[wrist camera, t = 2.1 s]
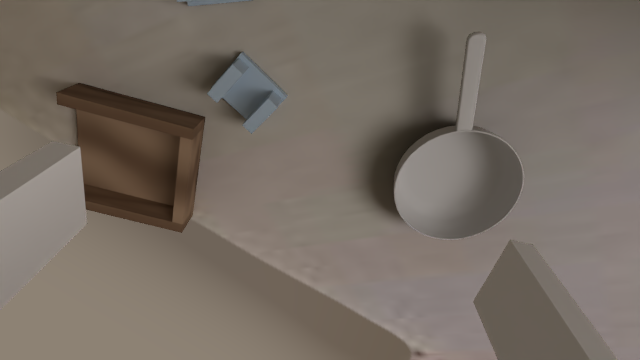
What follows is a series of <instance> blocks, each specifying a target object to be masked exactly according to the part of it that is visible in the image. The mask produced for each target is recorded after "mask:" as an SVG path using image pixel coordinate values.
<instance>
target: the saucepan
mask: <svg viewBox="0 0 640 360" xmlns="http://www.w3.org/2000/svg"><path fill="white" fill-rule="evenodd" d="M485 44H486V35H485V34H484V33H482V32H474V33H471V34H469V36H468V38H467V41H466V49H465V57H464V65H463V72H462V80H461V88H460V96H459V104H458V111H457V119H456V126H448V127H444V128H441V129H437V130H435V131H433V132H430V133H428V134H426V135H425V136H423V137H422V138H420V139H419V140H417V141H416V142H415V143H414V144H413V145H412V146H411V147H409V148H408V150H407V151H406V152H405V154H404V155H403V156H402V158H401V160H400V161H399V163H398V165H397V168H396V171H395V175H394V185H393V188H394V199H395V204H396V207H397V210H398V212H399V214H400V216H401V217H402V219H403V220H404V221H405V222H406V223H407V225H409V226H410V227H411V228H412V229H414V230H415V231H417V232H419V233H421V234H422V235H425V236H428V237H431V238H436V239H441V240H456V239H464V238H468V237H473V236H475V235H478V234H481V233H483V232H485V231H487V230H489V229H491V228H493V227H494V226H495V225H497V224H498V223H500V222H501V221H502V220H503V219H504V218H505V217H506V216H507V215H508V214H509V213H510V212H511V211H512V209H513V208H514V207H515V205H516V203H517V201H518V200H519V198H520V195H521V192H522V189H523V184H524V170H523V166H522V163H521V160H520V158H519V156H518V154H517V153H516V151H515V150H514V149H513V148H512V147H511V146H510V145H509V144H508V143H507V142H506V141H504V140H503V139H502V138H500V137H499V136H497V135H496V134H494V133H492V132H490V131H488V130H485V129H483V128H480V127H475V126H473V122H474V115H475V109H476V102H477V96H478V90H479V83H480V77H481V70H482V64H483V57H484V51H485Z"/></svg>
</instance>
